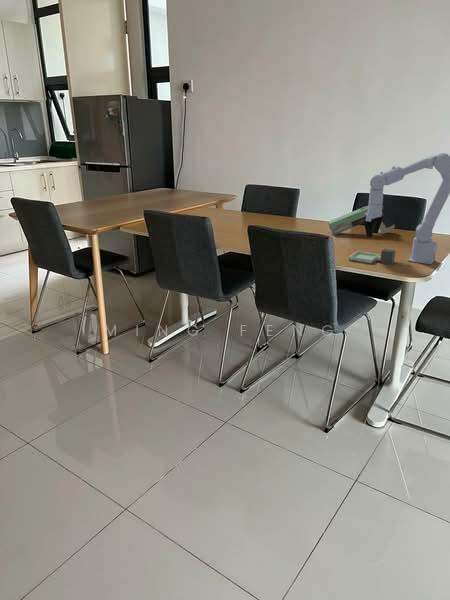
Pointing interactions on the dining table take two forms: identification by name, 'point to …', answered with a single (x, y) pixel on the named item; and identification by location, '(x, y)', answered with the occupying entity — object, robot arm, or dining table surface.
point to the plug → (387, 256)
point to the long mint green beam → (357, 221)
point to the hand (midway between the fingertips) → (372, 234)
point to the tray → (363, 257)
